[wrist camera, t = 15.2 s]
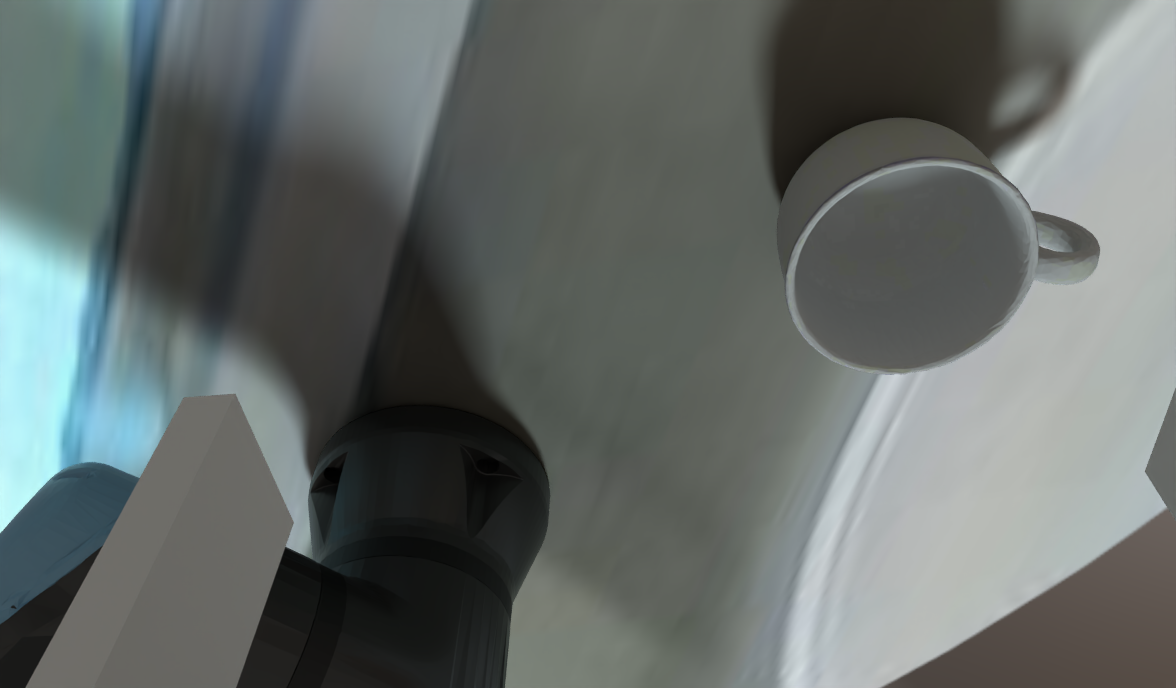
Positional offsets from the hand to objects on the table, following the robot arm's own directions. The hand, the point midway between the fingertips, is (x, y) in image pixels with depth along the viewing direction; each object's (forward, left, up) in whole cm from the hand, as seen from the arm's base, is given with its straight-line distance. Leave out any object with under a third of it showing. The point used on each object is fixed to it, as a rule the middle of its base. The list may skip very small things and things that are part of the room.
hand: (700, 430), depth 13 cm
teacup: (+12, -15, -32) cm, 37 cm away
